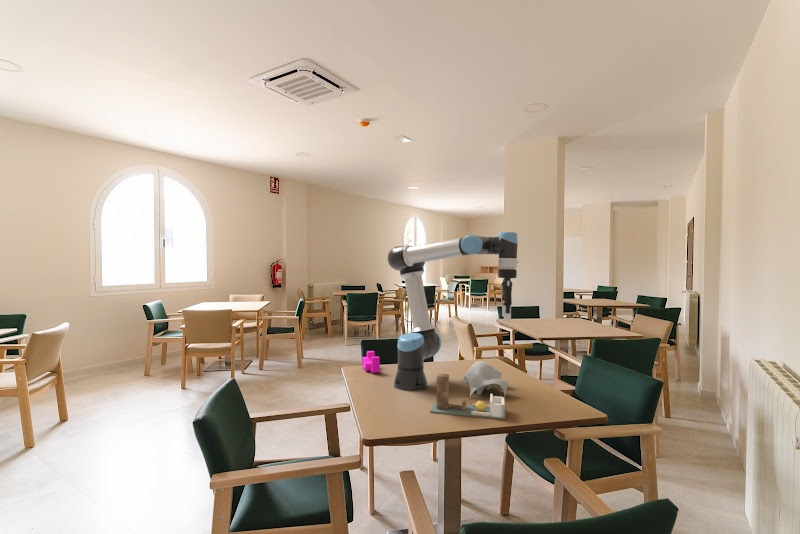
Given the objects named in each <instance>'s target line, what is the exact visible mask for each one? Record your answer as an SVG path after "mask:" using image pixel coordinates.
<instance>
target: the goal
mask: <svg viewBox="0 0 800 534" xmlns="http://www.w3.org/2000/svg"><path fill="white" fill-rule="evenodd" d="M489 405H490V416H491V417H502V418H504V409H505V396H496V395H493V393H490V398H489Z"/></svg>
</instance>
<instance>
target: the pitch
mask: <svg viewBox="0 0 800 534" xmlns="http://www.w3.org/2000/svg"><path fill="white" fill-rule="evenodd" d="M506 411H507V410H506V408H504V418H502V417H491V416H490V404H485V409H484V410H483V411H478V410H477V409H476V403H472V405H467V404H466V408H465V412H464V411H462V409H459V408H448V409H441V408H437V402H436V401H435V402H433V404H432V406H431V409H430V410H429V413H432V414H441V415H452V416H461V417H462V416H463V417H473V418H484V419H495V420H502V421H503V420H505V421H506V420H507V418H506V417H507V416H506V415H507V414H506V413H507V412H506Z"/></svg>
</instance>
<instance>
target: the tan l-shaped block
mask: <svg viewBox="0 0 800 534" xmlns="http://www.w3.org/2000/svg"><path fill="white" fill-rule="evenodd" d="M449 383H450V374H449V373H440V372H439V373H437V375H436V403H437V408H441V409H448V408H459V409H462V411H464V412H465V408H466V405H467V397H463V398H462V400H461V404H456V403H454V404H453V403H450V402H449V399H450V397H449V396H450V395H449V394H450V393H449V391H450V390H449V389H450V387H449V386H450V384H449Z"/></svg>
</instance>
